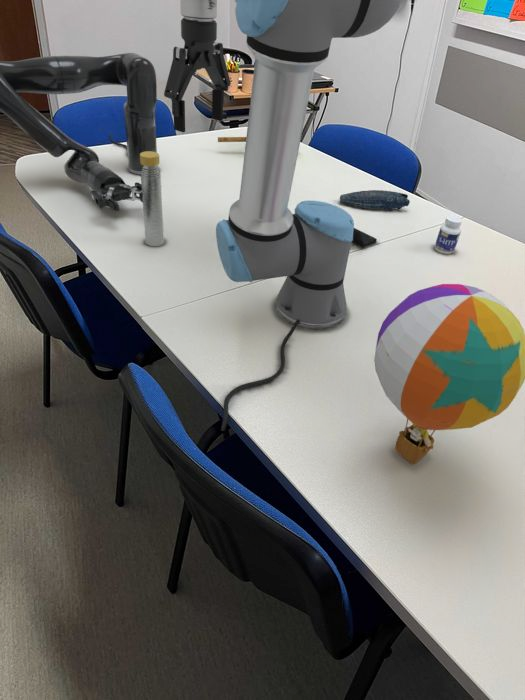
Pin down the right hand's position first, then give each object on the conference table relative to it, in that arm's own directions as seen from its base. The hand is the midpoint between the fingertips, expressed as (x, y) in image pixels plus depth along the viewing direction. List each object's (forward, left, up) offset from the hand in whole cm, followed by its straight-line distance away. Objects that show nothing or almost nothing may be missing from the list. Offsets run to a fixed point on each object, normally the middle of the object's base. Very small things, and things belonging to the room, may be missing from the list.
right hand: (199, 125), depth 122 cm
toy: (-67, -51, -27) cm, 88 cm away
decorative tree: (+67, -5, -27) cm, 73 cm away
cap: (-10, +9, -5) cm, 14 cm away
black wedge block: (+7, -40, -27) cm, 49 cm away
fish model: (+32, -47, -27) cm, 63 cm away
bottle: (-10, +9, -27) cm, 30 cm away
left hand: (-3, +17, -21) cm, 27 cm away
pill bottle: (+8, -66, -27) cm, 71 cm away
